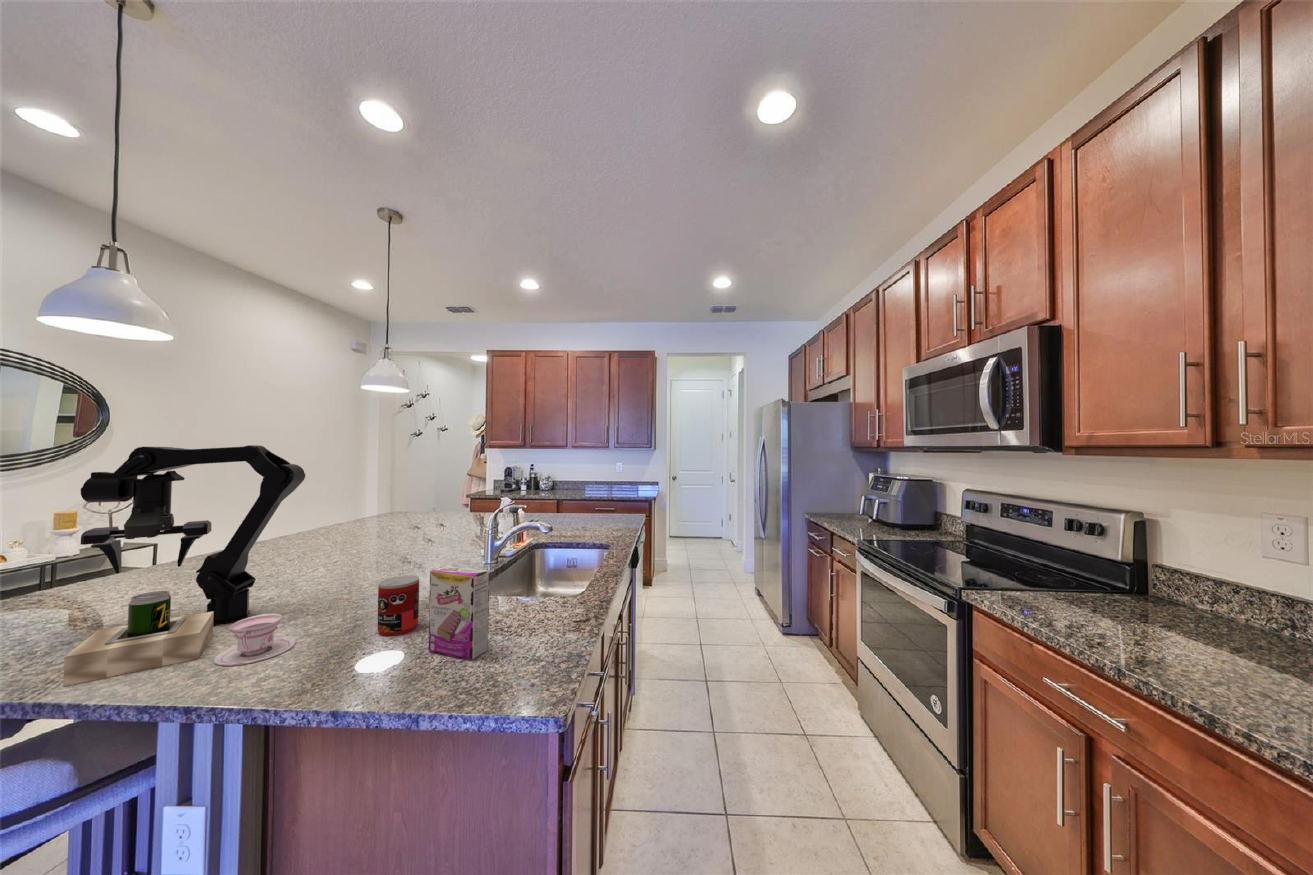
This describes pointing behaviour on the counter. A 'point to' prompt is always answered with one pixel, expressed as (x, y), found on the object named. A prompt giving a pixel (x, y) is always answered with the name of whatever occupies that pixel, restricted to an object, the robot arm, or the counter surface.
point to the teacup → (255, 640)
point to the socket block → (137, 649)
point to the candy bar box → (459, 611)
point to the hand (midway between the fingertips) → (149, 569)
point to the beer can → (149, 613)
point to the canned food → (398, 605)
